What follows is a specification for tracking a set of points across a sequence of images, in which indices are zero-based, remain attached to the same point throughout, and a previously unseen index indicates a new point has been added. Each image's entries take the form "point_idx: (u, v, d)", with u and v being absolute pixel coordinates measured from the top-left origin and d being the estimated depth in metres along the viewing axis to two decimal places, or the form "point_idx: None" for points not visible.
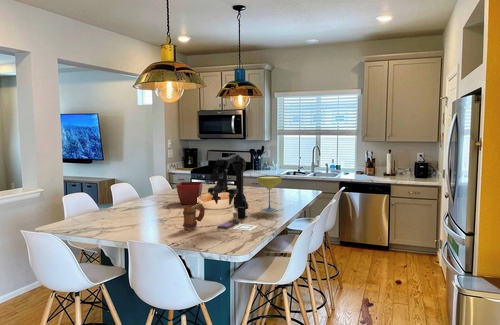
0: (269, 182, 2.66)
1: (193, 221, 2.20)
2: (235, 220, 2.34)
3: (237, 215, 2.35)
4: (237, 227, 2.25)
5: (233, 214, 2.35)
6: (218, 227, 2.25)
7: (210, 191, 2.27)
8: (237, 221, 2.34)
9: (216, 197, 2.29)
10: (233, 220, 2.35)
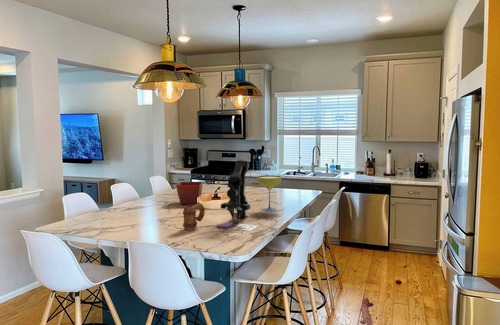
0: (269, 182, 2.66)
1: (193, 221, 2.20)
2: (235, 220, 2.34)
3: None
4: (237, 227, 2.25)
5: (233, 214, 2.35)
6: (218, 227, 2.25)
7: (223, 207, 2.35)
8: (237, 221, 2.34)
9: None
10: (233, 220, 2.35)
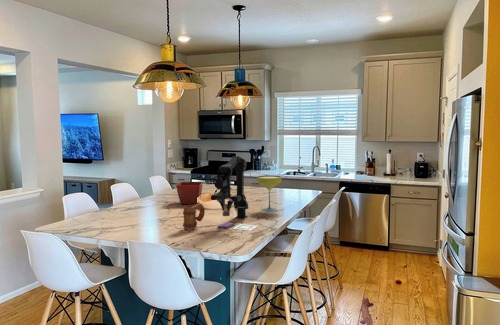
0: (269, 182, 2.66)
1: (193, 221, 2.20)
2: (225, 212, 2.26)
3: None
4: (237, 227, 2.25)
5: None
6: (218, 227, 2.25)
7: (213, 198, 2.27)
8: (228, 213, 2.26)
9: (223, 204, 2.29)
10: (223, 212, 2.27)
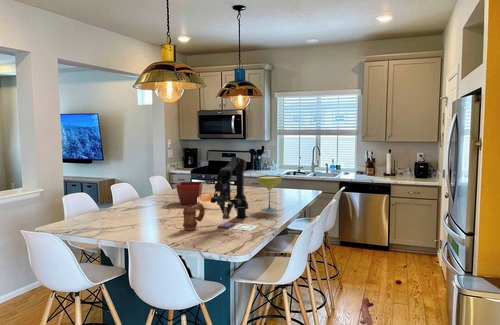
0: (269, 182, 2.66)
1: (193, 221, 2.20)
2: (225, 215, 2.26)
3: (227, 210, 2.27)
4: (237, 227, 2.25)
5: None
6: (218, 227, 2.25)
7: (213, 201, 2.27)
8: (227, 216, 2.26)
9: (223, 207, 2.28)
10: (223, 215, 2.27)
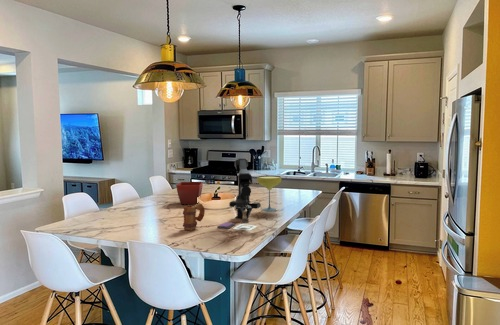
0: (269, 182, 2.66)
1: (193, 221, 2.20)
2: (244, 219, 2.24)
3: None
4: (237, 227, 2.25)
5: (242, 212, 2.24)
6: (218, 227, 2.25)
7: (232, 205, 2.25)
8: (247, 220, 2.23)
9: None
10: (242, 219, 2.24)
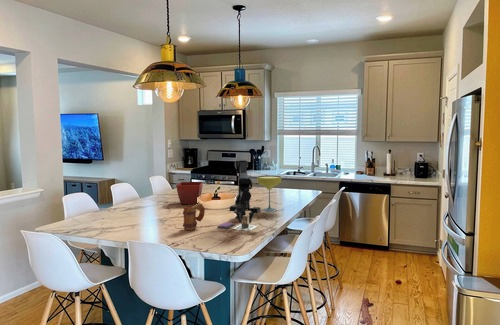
0: (269, 182, 2.66)
1: (193, 221, 2.20)
2: (245, 224, 2.24)
3: None
4: (237, 227, 2.25)
5: None
6: (218, 227, 2.25)
7: (232, 210, 2.25)
8: (247, 225, 2.24)
9: (240, 216, 2.27)
10: (242, 224, 2.25)
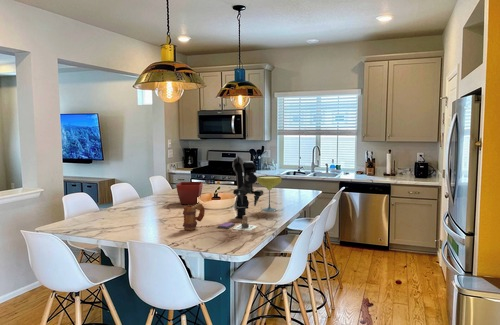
0: (269, 182, 2.66)
1: (193, 221, 2.20)
2: (245, 224, 2.24)
3: None
4: (237, 227, 2.25)
5: None
6: (218, 227, 2.25)
7: (236, 192, 2.34)
8: (247, 225, 2.24)
9: (241, 198, 2.36)
10: (242, 224, 2.25)
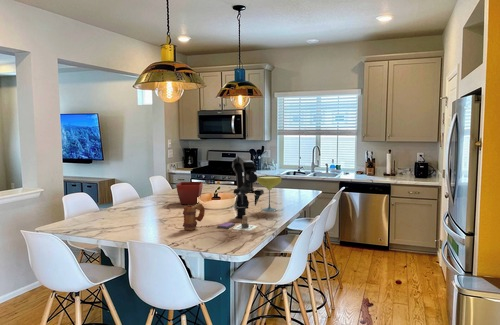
0: (269, 182, 2.66)
1: (193, 221, 2.20)
2: (244, 224, 2.24)
3: None
4: (237, 227, 2.25)
5: None
6: (218, 227, 2.25)
7: (236, 192, 2.34)
8: (247, 225, 2.24)
9: (241, 198, 2.36)
10: (242, 224, 2.25)
